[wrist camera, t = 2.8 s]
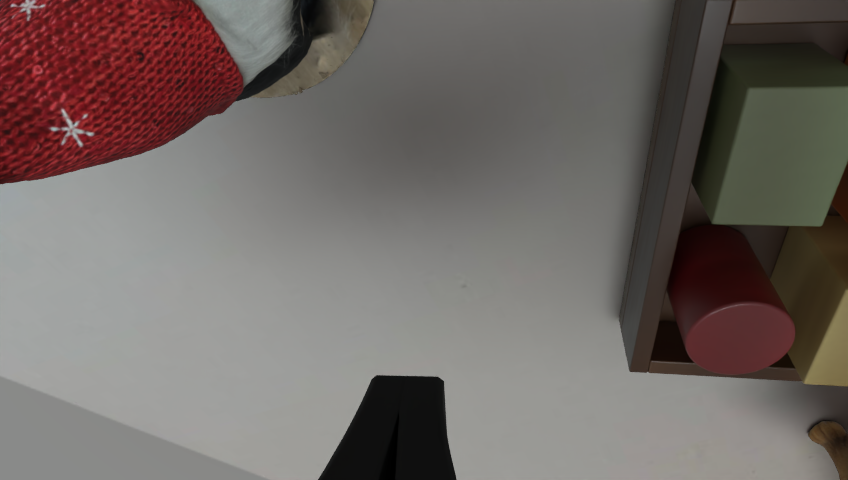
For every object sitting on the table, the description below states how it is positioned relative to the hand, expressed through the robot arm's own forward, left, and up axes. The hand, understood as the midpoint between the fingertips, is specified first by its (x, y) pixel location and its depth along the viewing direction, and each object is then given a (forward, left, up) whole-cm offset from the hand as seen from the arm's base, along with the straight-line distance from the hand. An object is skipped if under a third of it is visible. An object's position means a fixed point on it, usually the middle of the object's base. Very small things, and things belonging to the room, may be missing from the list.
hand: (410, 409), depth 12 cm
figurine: (+6, -7, -10) cm, 13 cm away
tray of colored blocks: (-10, 0, -9) cm, 14 cm away
